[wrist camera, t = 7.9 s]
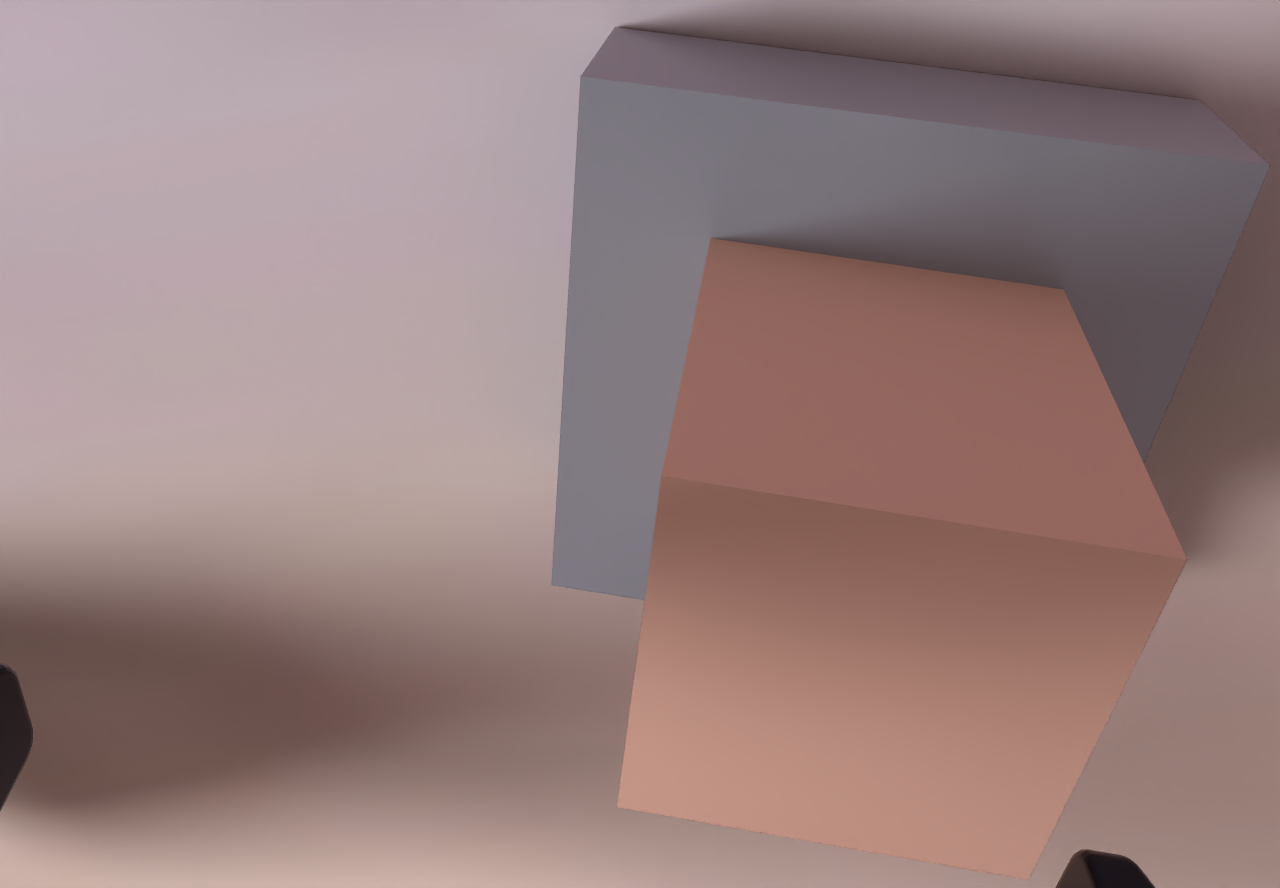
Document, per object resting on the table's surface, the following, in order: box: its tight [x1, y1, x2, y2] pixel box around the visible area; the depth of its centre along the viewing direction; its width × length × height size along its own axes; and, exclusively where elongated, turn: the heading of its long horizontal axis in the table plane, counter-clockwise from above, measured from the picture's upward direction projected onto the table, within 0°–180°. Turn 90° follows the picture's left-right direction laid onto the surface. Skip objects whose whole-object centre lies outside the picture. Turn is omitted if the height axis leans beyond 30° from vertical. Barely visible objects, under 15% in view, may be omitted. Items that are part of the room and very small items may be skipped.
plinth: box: [552, 27, 1270, 600], centre depth 18 cm, size 9×9×3 cm
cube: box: [617, 238, 1188, 880], centre depth 14 cm, size 5×5×6 cm
